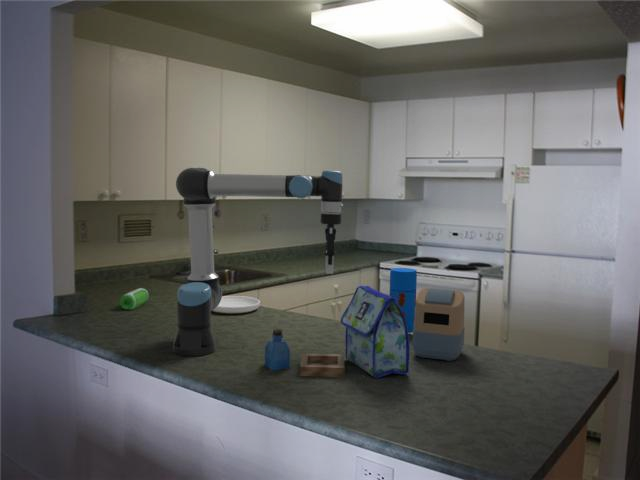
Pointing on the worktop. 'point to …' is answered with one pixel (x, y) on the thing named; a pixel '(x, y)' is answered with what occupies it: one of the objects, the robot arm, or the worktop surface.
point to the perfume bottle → (277, 352)
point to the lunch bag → (376, 333)
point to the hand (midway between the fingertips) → (329, 270)
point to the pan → (237, 305)
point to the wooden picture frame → (322, 365)
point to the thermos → (404, 292)
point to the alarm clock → (439, 324)
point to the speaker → (134, 299)
